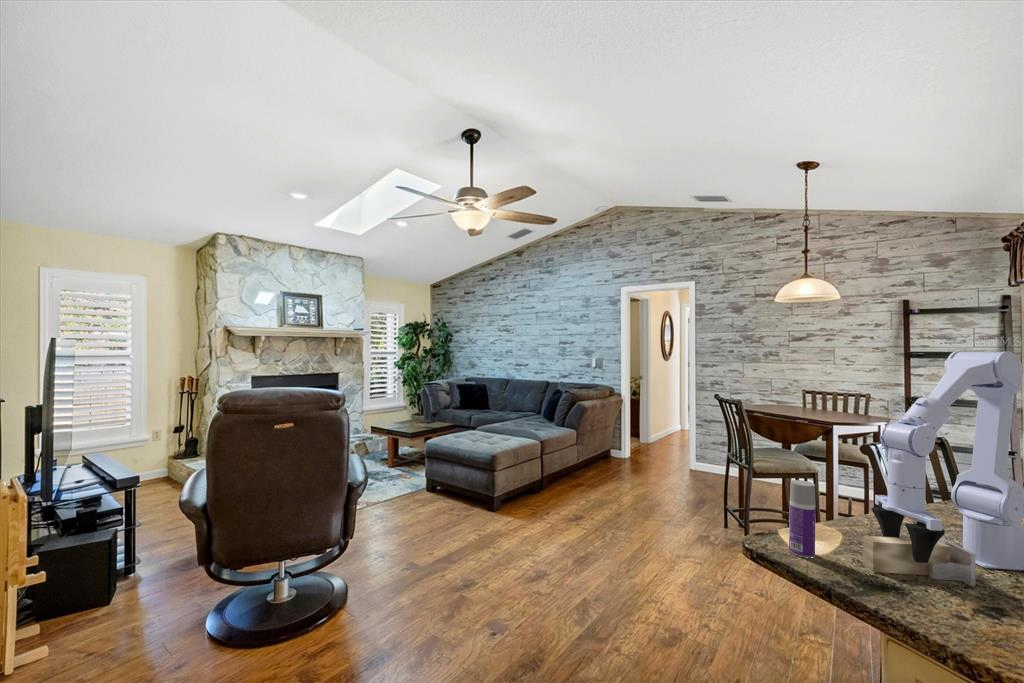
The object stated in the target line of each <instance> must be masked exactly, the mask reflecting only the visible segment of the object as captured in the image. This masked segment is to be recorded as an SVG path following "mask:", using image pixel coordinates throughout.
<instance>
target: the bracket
mask: <svg viewBox="0 0 1024 683" xmlns="http://www.w3.org/2000/svg"><path fill="white" fill-rule="evenodd" d="M939 541H940V542H942V543H944V544H946V545H948V546H950V563H949V562H933V561H930V575H929V578H931V579H932V580H942V581H944V580H945V581H957V582H958V581H960V582H963V583H965V584H966V585H968V586H970V587H976V569H977V568H976V565H977V564H976V554H975V553H973V552H970V551H968V550H966V549H964V548H963V546H960V545H958V544H956V543H954V542H952V541H950V540H947V539H945V538H943V537H941V538H940V539H939Z"/></svg>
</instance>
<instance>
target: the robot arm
mask: <svg viewBox="0 0 1024 683" xmlns="http://www.w3.org/2000/svg"><path fill="white" fill-rule="evenodd" d="M1023 365H1024V364H1023V363H1022V362H1021V361H1020V359H1019V357H1018V356H1017V355H1016V354H1015V353H1014V352H1012V351H962V350H961V351H960V350H957V351H953V352H951V353H950V354H949V355H948V357H947V359H945V361H944V372H945V373H944V374H943V376H942V377H941V378H940V380H939V381H938V382H937V384H936V385H935V387H934V389H933V390H932V391H931V393H930V394H929V396H928V397H926V396H925V397H920V398H919V397H918V398H917V399H916V400H915V402H914V403H912V405H911V406H910V407H909V408H908V410H907V411H906V412H905V413H904V414H903V415H902V417H900V418H899V420H898V421H897V422H893V423H892V422H891V423H890V424H887V425H886V426H884V428H883V429H882V432H881V435H880V436H879V440H880V444H881V445H882V447H883V449H884V456H885V459H887V495H885V494H883V495H882V494H875V495H874V498H875V499H874V504H875V505H877V506H878V507H872V508H871V512H872V513H873V515H874V517H876V520H877V523H878V526H879V527H880V530H881V534H882V537H893V538H901V527H902V524H903V521H904V519H905V518H908V519H910V520H912V521H914V522H916V523H910V522H909V523H908V522H907V523H904V526H905V528H906V529H907V532H908V535H909V538H910V539H911V543H912V554H913V559H914V561H915V562H918V563H928V561H929V559H930V556H931V553H932V551H933V549H934V547H935V545H936V543H937V542H938V541H939V539H940V538H943V536H944V535H945V534H946V531H945V529H943V520H942V519H940V518H938V517H937V516H935V515H934V514H932V513H931V512H930V511H929V510H927V509H926V489H927V488H926V485H927V484H926V476H927V475H926V471H927V470H926V469H927V467H926V466H927V465H926V463H927V460H926V458H927V457H926V456H928V455H930V454H931V453H932V452H933V451H934V448H935V444H936V440H937V438H938V432H939V430H940V429H941V428H942V427H943V426H944V424H945V423H946V422H947V421H948V419H949V418H951V414H952V411H951V409H950V407H951V405H952V404H954V403H955V401H957V400H958V399H959V398H960V397H961V396H962V395H963V394H964V393H965V392H966V391H968V390H970V391H972V392H973V393H974V394H975V395H976V396H977V405H976V406H977V407H976V417H975V418H976V419H975V425H974V426H975V427H974V438H973V448H972V457H971V458H972V459H971V467H970V469H968V470H965V471H963V472H959V474H957V475H956V480H955V483H954V485H953V487H952V489H951V493H950V494H951V495H950V496H951V500H952V503H953V505H954V507H956V508H957V509H958V513H959V514H962V516H963V517H962V548H964V549H966V550H968V551H970V552H973V553H975V554H976V565H978V566H980V567H981V568H984V569H985V568H986V569H995V570H999V569H1000V570H1010V571H1011V570H1012V571H1024V525H1023V524H1022V523H1020V522H1022V521H1023V519H1024V487H1022V486H1021V485H1020V484H1019V483H1017V481H1015V480H1014V479H1013V478H1011V477H1010V475H1008V473H1007V471H1008V463H1009V449H1010V440H1011V439H1010V438H1011V430H1012V429H1011V428H1012V420H1013V419H1012V418H1013V410H1014V398H1015V395H1016V394H1018V393H1020V392H1021V388H1022V381H1023V380H1022V379H1023V372H1024V371H1023V370H1024V366H1023Z"/></svg>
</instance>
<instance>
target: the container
mask: <svg viewBox="0 0 1024 683" xmlns="http://www.w3.org/2000/svg"><path fill="white" fill-rule="evenodd" d="M789 488H790V489H789V491H790V492H789V510H788V511H789V512H788V513H789V515H788V516H789V521H788V523H789V525H788V527H789V529H788V535H789V536H788V551H789V550H790V551H791V552H792V553H794V554H796V555H798V556H801V557H808V558H811V557H814V556H816V514H817V513H816V511H817V510H816V507H817V506H816V484H815V483H813V482H810V481H806V480H799V479H793V480H790V487H789ZM798 556H797V557H798ZM801 557H800V558H801ZM808 558H807V559H808ZM814 558H815V557H814ZM811 559H812V558H811Z"/></svg>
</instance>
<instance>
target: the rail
mask: <svg viewBox="0 0 1024 683" xmlns="http://www.w3.org/2000/svg"><path fill="white" fill-rule="evenodd" d="M930 561H933V562H949V563H950V546H948V545H946V544H944V543H942V542H940V541H938V542H937V543H936V545H935V547H934V549H933V551H932V553H931V556H930V559H929V561H928V563H918V562H915V561H914V559H913V554H912V543H911V539H910V537H909V538H905V537H900V538H893V537H883V536H873V535H872V536H871V535H862V565H863V566H864V567H865V568H867V569H868V570H869V571H871V572H874V573H887V574H888V573H890V574H902V575H903V574H904V575H916V576H918V575H919V576H930Z"/></svg>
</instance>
